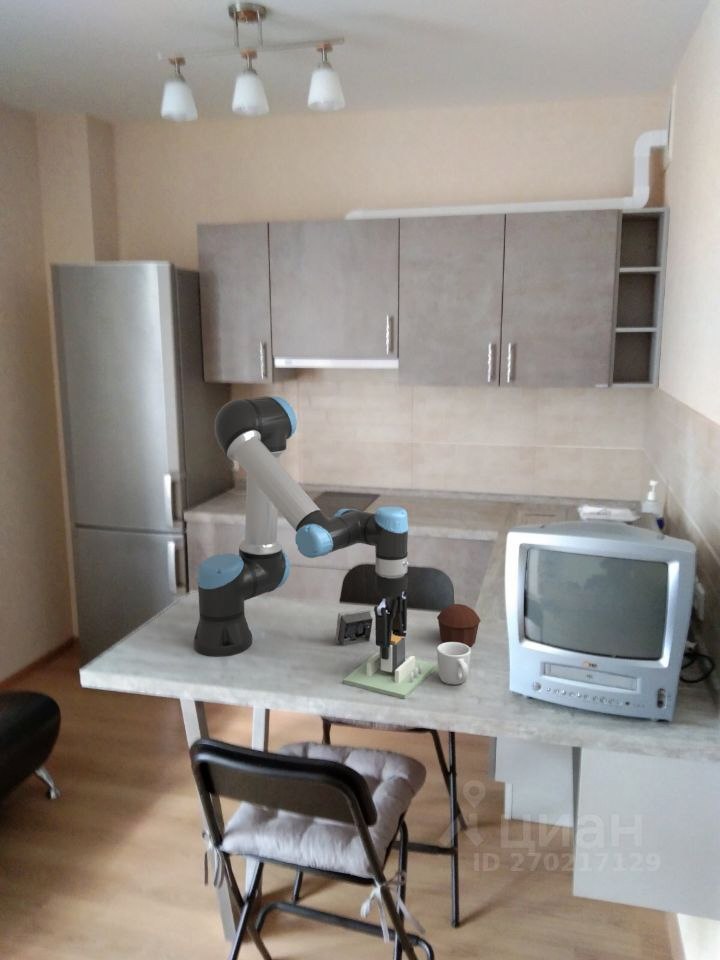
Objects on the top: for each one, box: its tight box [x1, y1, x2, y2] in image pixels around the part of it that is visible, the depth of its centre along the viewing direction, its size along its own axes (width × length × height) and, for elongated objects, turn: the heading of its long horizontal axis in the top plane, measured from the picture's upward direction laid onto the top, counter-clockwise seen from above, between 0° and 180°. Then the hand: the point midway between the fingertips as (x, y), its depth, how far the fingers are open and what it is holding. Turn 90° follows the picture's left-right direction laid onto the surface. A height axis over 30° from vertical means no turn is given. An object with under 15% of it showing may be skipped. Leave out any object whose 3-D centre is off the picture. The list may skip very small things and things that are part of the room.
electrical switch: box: [334, 607, 374, 647], centre depth 199 cm, size 9×5×9 cm, turn 113°
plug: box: [379, 634, 406, 673], centre depth 179 cm, size 4×4×8 cm
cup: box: [436, 642, 472, 685], centre depth 176 cm, size 11×8×8 cm
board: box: [343, 650, 438, 700], centre depth 180 cm, size 16×18×4 cm
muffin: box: [436, 603, 482, 648], centre depth 199 cm, size 12×11×10 cm
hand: (391, 666), depth 180 cm, fingers closed on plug, 4 cm apart
